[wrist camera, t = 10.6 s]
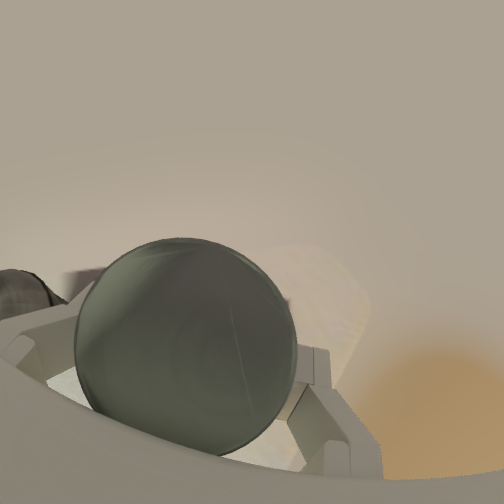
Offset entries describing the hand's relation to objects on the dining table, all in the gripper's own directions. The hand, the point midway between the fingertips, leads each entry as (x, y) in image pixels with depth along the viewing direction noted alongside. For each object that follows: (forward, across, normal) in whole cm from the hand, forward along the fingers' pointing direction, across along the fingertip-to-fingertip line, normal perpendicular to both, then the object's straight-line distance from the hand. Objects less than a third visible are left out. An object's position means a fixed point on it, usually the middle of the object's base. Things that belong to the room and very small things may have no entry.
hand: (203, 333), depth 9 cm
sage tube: (+4, 0, +5) cm, 6 cm away
